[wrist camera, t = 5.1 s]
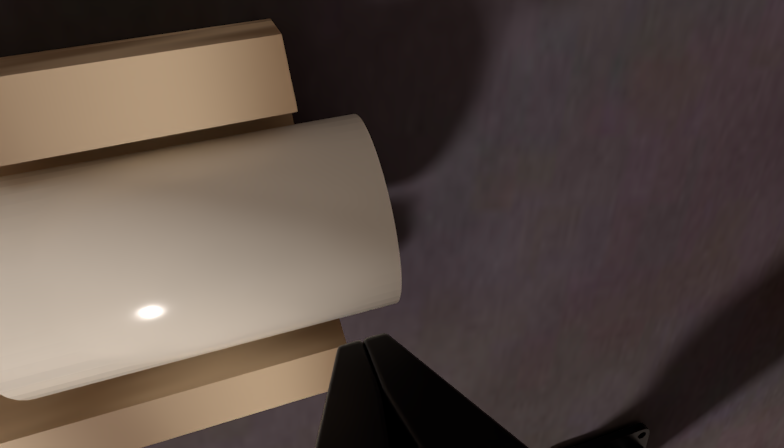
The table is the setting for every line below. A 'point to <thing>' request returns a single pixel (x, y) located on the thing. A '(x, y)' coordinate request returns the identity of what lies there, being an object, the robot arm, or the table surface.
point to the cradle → (142, 133)
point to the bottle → (189, 251)
